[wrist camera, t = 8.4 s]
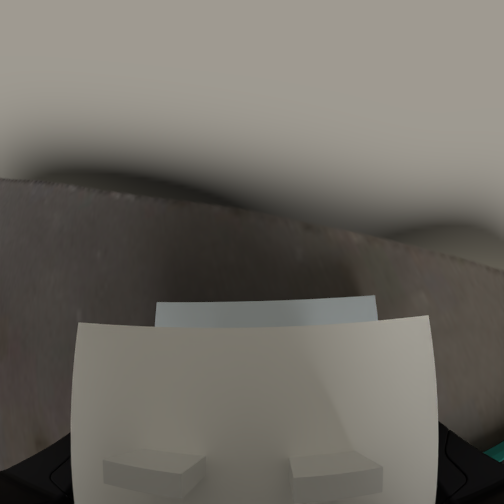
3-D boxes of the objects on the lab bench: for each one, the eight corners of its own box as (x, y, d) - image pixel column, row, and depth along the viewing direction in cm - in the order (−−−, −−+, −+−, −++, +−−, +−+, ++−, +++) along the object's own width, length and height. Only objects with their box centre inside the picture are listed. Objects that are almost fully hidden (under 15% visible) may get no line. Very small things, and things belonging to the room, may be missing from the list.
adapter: (324, 454, 13) (461, 579, 1) (210, 455, 13) (38, 563, 2) (322, 375, 14) (467, 283, 3) (210, 378, 15) (34, 294, 3)
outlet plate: (372, 497, 13) (383, 507, 11) (165, 499, 14) (152, 509, 12) (364, 306, 18) (374, 295, 16) (168, 312, 19) (156, 302, 17)
